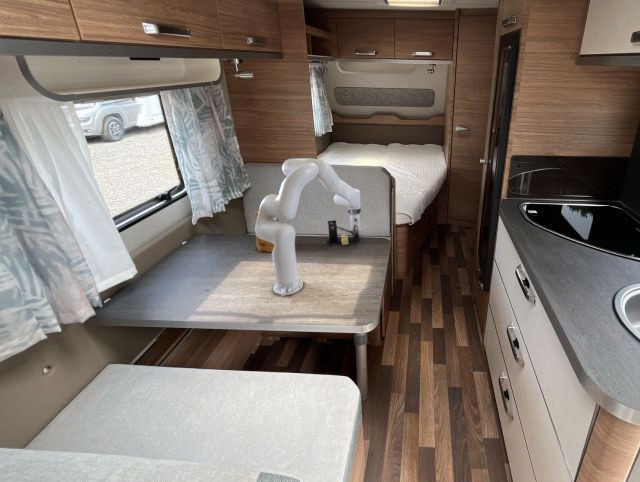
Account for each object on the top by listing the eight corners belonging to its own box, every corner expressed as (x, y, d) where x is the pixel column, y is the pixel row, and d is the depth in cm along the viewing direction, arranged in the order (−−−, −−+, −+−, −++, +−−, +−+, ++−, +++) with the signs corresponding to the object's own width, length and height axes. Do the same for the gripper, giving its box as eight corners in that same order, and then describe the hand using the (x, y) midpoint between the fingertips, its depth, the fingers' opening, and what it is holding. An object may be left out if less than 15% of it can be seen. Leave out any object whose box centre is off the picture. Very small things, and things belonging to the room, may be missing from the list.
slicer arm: (356, 235, 195) (358, 231, 195) (356, 238, 192) (359, 233, 192) (328, 225, 188) (331, 220, 188) (328, 228, 186) (331, 223, 185)
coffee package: (262, 243, 189) (256, 207, 181) (284, 243, 189) (279, 207, 181) (254, 252, 179) (248, 215, 171) (278, 252, 180) (272, 215, 172)
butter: (348, 245, 188) (348, 239, 187) (342, 246, 187) (341, 240, 186) (347, 240, 195) (347, 233, 193) (341, 240, 194) (340, 234, 192)
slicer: (337, 239, 194) (336, 219, 190) (338, 244, 189) (337, 224, 185) (328, 240, 193) (327, 220, 189) (329, 245, 188) (327, 225, 183)
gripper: (362, 215, 181) (364, 243, 187) (359, 204, 197) (360, 230, 203) (348, 217, 179) (350, 245, 185) (346, 205, 195) (347, 232, 201)
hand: (355, 237), depth 194 cm, fingers open, 9 cm apart
